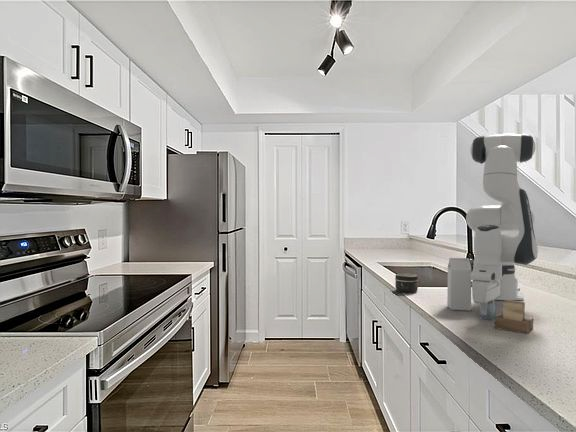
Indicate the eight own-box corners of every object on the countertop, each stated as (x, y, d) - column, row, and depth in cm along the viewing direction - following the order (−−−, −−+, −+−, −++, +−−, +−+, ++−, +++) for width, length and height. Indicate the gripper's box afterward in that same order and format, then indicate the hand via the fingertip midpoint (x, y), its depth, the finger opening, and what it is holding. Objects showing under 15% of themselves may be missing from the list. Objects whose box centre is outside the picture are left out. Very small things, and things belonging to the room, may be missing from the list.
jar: (391, 292, 191) (392, 275, 191) (399, 288, 199) (399, 272, 199) (413, 294, 185) (413, 277, 185) (420, 291, 194) (421, 274, 194)
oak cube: (507, 315, 136) (507, 299, 136) (524, 317, 133) (524, 302, 133) (503, 318, 132) (503, 302, 132) (521, 321, 129) (521, 304, 129)
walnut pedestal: (501, 322, 139) (502, 313, 139) (533, 327, 133) (533, 317, 133) (494, 328, 132) (494, 318, 132) (527, 333, 126) (527, 323, 126)
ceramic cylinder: (481, 315, 148) (481, 301, 148) (496, 317, 145) (496, 303, 145) (477, 317, 145) (477, 303, 145) (492, 320, 142) (492, 305, 141)
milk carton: (471, 311, 155) (471, 259, 154) (450, 310, 156) (450, 258, 156) (466, 306, 161) (467, 257, 161) (447, 305, 163) (447, 256, 163)
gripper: (486, 268, 155) (485, 306, 155) (468, 275, 139) (468, 316, 139) (505, 270, 151) (504, 308, 151) (489, 276, 135) (488, 320, 135)
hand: (487, 312), depth 145 cm, fingers closed on ceramic cylinder, 5 cm apart
